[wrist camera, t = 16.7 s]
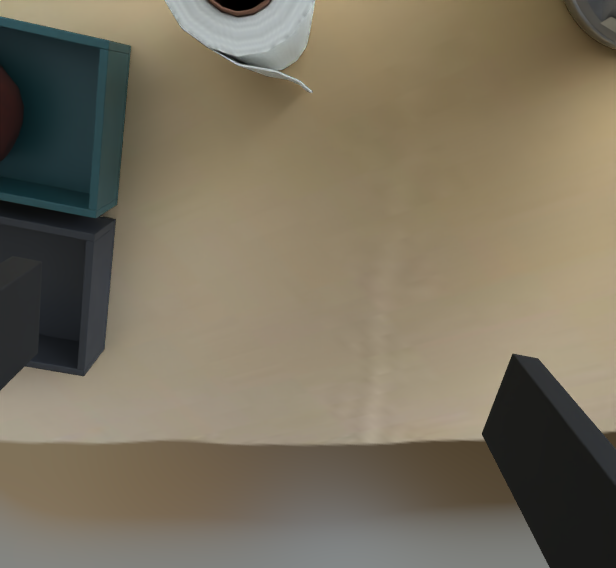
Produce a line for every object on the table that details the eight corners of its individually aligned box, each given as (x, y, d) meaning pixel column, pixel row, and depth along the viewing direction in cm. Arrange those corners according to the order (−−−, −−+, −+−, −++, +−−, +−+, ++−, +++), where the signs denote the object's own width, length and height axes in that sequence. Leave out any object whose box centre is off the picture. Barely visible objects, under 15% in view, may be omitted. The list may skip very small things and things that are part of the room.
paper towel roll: (228, -22, 39) (150, -140, 19) (312, -16, 39) (325, -126, 19) (227, 85, 41) (158, 83, 21) (307, 90, 41) (313, 93, 21)
